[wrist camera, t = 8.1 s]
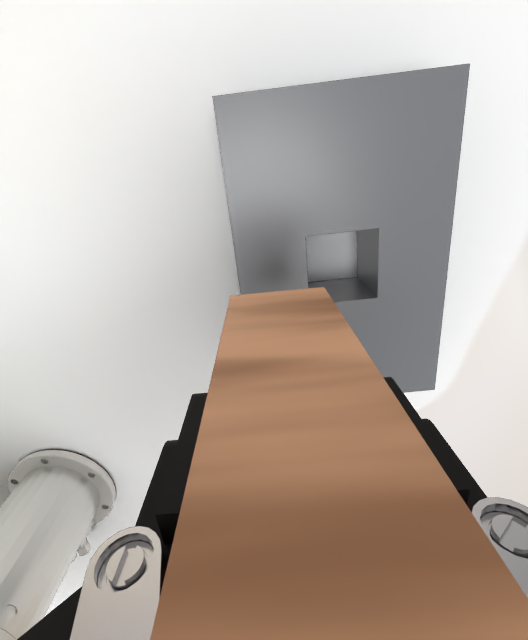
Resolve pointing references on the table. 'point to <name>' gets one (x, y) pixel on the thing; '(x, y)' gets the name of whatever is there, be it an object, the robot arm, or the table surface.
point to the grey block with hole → (352, 199)
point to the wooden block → (322, 500)
